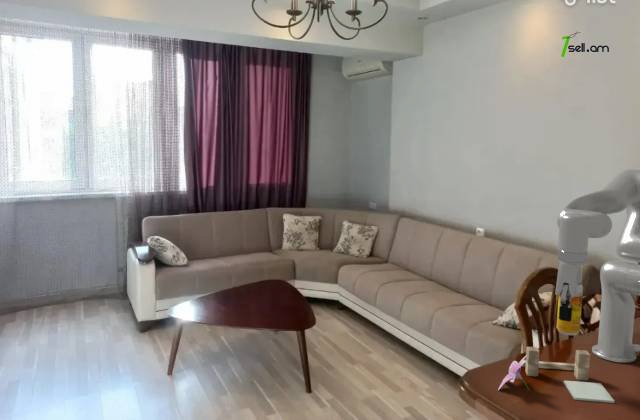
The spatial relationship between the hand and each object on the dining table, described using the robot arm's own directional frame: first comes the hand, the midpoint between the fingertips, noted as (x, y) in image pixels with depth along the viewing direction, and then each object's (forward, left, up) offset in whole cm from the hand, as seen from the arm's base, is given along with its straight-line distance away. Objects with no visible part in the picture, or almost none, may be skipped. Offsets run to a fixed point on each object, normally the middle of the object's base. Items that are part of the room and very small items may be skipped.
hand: (567, 316), depth 146 cm
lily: (+15, +7, -20) cm, 26 cm away
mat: (-5, +7, -19) cm, 21 cm away
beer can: (0, 0, -5) cm, 5 cm away
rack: (+1, -4, -19) cm, 20 cm away
